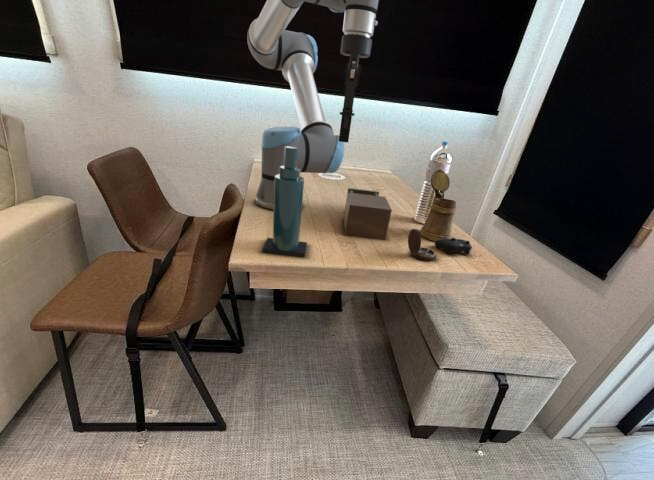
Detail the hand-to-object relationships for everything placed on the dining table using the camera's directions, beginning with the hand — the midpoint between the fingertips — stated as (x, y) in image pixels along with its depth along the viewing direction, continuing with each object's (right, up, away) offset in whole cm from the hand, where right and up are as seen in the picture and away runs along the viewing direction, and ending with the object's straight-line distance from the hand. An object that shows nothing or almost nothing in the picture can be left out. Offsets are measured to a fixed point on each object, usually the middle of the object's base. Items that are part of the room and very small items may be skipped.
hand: (343, 141), depth 93 cm
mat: (-15, -32, -12) cm, 38 cm away
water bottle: (+29, -18, +20) cm, 39 cm away
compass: (+20, -33, -6) cm, 39 cm away
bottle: (-15, -32, -13) cm, 37 cm away
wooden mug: (+28, -24, +10) cm, 39 cm away
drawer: (+7, -16, +17) cm, 24 cm away
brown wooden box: (+7, -23, +7) cm, 25 cm away
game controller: (+31, -31, 0) cm, 44 cm away
